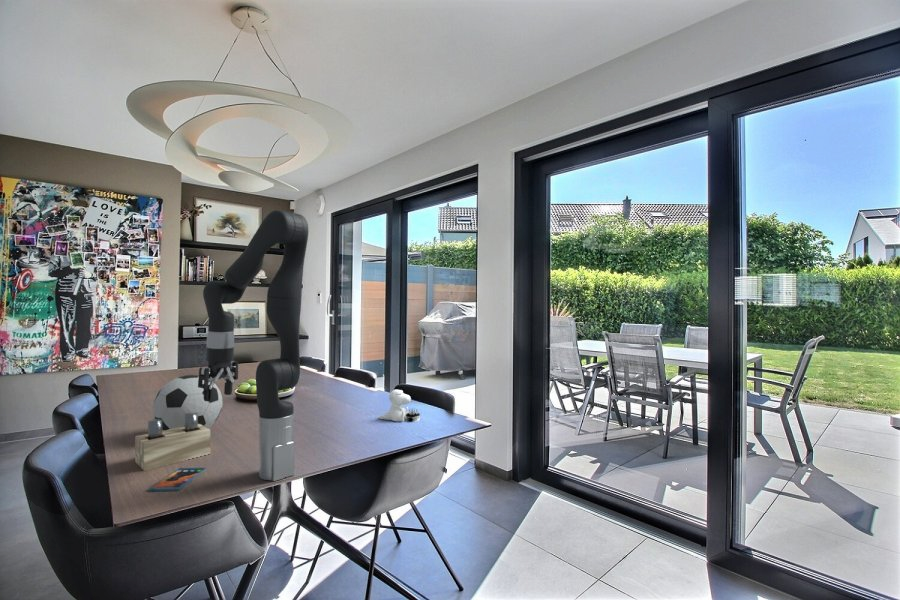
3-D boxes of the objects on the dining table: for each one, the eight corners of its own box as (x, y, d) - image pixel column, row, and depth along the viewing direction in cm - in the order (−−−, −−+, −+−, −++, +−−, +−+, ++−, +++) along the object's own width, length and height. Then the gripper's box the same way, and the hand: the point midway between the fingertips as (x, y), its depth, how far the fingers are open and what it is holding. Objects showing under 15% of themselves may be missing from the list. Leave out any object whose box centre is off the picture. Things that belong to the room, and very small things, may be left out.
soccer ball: (191, 447, 147) (191, 382, 147) (137, 442, 152) (136, 379, 151) (235, 428, 169) (235, 371, 169) (187, 424, 173) (186, 369, 173)
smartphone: (207, 467, 129) (178, 488, 114) (207, 471, 129) (178, 493, 114) (179, 466, 129) (146, 487, 114) (179, 471, 129) (146, 492, 114)
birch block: (210, 454, 141) (210, 429, 141) (144, 470, 127) (144, 443, 127) (199, 447, 147) (199, 423, 147) (135, 462, 134) (135, 436, 134)
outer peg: (163, 443, 134) (163, 420, 134) (149, 446, 131) (149, 422, 131) (160, 440, 136) (160, 418, 136) (146, 443, 133) (146, 420, 133)
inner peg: (199, 435, 141) (199, 413, 141) (187, 438, 138) (186, 416, 138) (195, 433, 144) (195, 411, 143) (183, 435, 141) (183, 414, 141)
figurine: (417, 423, 176) (417, 392, 175) (375, 421, 178) (375, 391, 178) (422, 417, 184) (422, 388, 184) (381, 415, 187) (381, 386, 187)
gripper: (214, 349, 126) (211, 405, 127) (246, 343, 140) (244, 393, 140) (191, 347, 127) (189, 402, 128) (226, 341, 141) (224, 391, 142)
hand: (218, 397), depth 134 cm, fingers open, 8 cm apart
